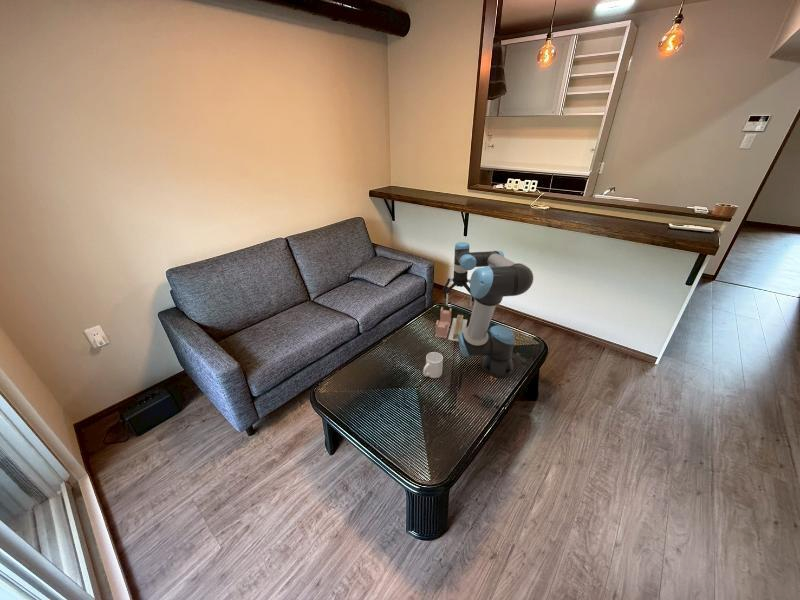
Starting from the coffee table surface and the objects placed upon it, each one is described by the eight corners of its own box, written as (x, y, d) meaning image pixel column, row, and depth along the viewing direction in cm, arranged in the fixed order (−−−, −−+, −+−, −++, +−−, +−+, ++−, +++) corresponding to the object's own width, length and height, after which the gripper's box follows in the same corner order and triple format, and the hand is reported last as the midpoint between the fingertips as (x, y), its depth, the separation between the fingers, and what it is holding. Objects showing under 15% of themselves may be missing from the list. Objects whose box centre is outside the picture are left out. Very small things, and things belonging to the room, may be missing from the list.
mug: (429, 385, 147) (429, 368, 142) (417, 376, 153) (417, 360, 148) (445, 373, 154) (446, 357, 149) (433, 365, 160) (434, 349, 155)
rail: (462, 319, 196) (463, 315, 194) (458, 339, 177) (459, 334, 176) (457, 319, 197) (457, 314, 195) (452, 338, 178) (453, 333, 177)
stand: (451, 319, 198) (452, 307, 193) (446, 338, 180) (447, 325, 176) (440, 318, 199) (441, 306, 195) (435, 336, 182) (435, 324, 178)
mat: (467, 320, 196) (467, 319, 196) (463, 342, 176) (463, 341, 176) (453, 318, 199) (453, 318, 198) (447, 340, 178) (448, 339, 178)
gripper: (484, 269, 166) (481, 303, 176) (439, 266, 173) (438, 299, 183) (483, 275, 160) (480, 310, 169) (436, 271, 167) (436, 305, 176)
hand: (458, 304), depth 176 cm, fingers open, 13 cm apart
